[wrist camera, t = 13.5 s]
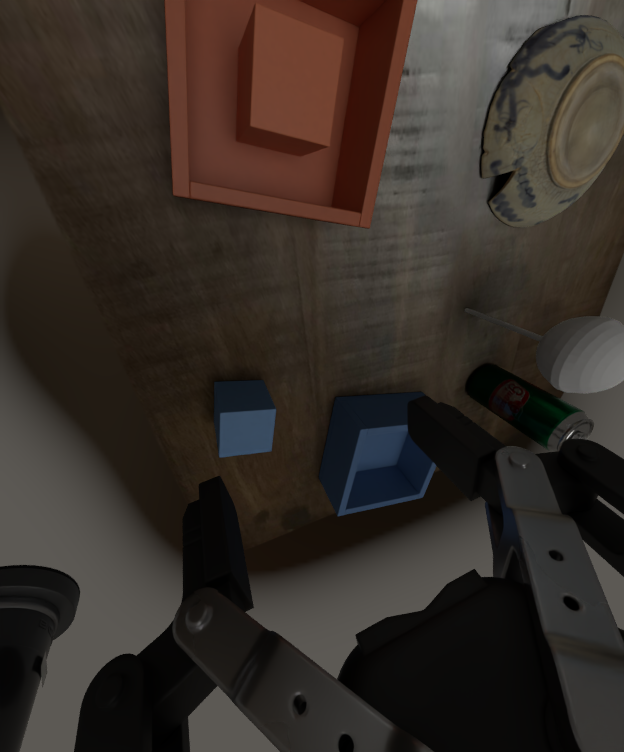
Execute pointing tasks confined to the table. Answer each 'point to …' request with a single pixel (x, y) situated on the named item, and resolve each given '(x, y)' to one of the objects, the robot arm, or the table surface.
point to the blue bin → (372, 454)
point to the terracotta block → (286, 83)
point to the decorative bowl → (555, 119)
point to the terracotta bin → (268, 167)
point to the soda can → (529, 407)
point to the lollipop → (577, 352)
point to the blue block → (243, 417)
